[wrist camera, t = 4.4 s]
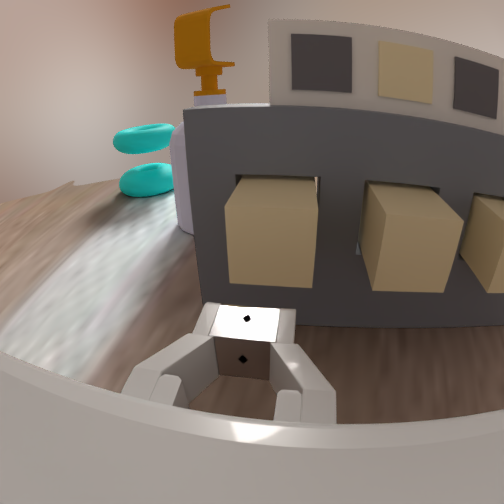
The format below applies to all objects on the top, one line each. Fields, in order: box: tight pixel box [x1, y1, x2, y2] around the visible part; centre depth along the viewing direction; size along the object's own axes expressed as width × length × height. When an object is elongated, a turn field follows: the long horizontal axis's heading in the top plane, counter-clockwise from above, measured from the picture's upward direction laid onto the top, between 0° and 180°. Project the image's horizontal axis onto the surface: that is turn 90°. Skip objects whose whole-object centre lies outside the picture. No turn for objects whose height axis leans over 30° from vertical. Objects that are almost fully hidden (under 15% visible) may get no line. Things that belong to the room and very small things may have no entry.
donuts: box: [113, 124, 175, 197], centre depth 47 cm, size 10×10×10 cm
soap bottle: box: [169, 5, 235, 235], centre depth 31 cm, size 9×9×25 cm
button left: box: [225, 174, 318, 288], centre depth 18 cm, size 4×7×4 cm, turn 172°
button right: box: [459, 192, 504, 293], centre depth 16 cm, size 4×7×4 cm, turn 172°
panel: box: [183, 19, 504, 328], centre depth 18 cm, size 24×3×19 cm, turn 82°
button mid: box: [358, 180, 464, 293], centre depth 17 cm, size 4×7×4 cm, turn 172°
